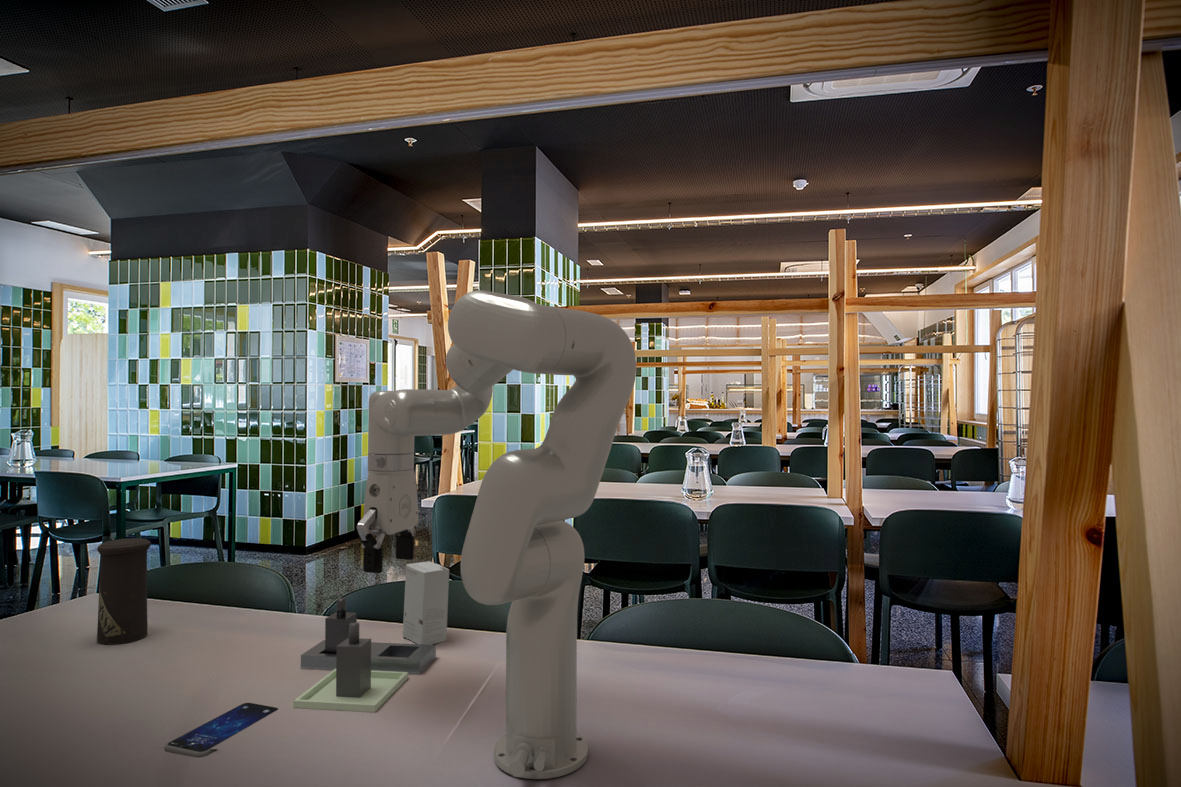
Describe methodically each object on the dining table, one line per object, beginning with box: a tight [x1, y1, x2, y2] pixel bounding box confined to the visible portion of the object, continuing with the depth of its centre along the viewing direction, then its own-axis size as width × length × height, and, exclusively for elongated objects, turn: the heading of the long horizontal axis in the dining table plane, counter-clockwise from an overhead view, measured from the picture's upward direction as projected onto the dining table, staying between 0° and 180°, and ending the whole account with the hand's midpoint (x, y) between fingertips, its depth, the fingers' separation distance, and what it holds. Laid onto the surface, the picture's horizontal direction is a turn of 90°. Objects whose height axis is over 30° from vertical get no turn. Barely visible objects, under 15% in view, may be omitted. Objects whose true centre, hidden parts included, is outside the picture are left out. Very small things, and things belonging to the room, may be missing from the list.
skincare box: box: [402, 560, 450, 645], centre depth 139 cm, size 8×6×15 cm
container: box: [96, 537, 152, 645], centre depth 139 cm, size 9×9×20 cm
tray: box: [292, 669, 409, 713], centre depth 112 cm, size 13×13×2 cm
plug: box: [336, 621, 372, 698], centre depth 112 cm, size 4×4×11 cm
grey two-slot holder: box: [300, 597, 437, 675], centre depth 125 cm, size 8×22×12 cm, turn 83°
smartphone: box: [164, 702, 279, 758], centre depth 100 cm, size 7×1×15 cm
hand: (389, 565), depth 116 cm, fingers open, 9 cm apart
